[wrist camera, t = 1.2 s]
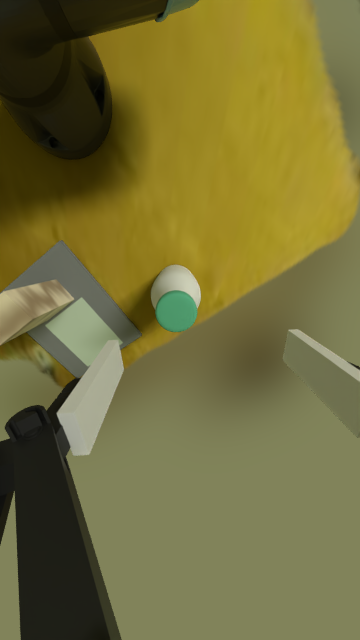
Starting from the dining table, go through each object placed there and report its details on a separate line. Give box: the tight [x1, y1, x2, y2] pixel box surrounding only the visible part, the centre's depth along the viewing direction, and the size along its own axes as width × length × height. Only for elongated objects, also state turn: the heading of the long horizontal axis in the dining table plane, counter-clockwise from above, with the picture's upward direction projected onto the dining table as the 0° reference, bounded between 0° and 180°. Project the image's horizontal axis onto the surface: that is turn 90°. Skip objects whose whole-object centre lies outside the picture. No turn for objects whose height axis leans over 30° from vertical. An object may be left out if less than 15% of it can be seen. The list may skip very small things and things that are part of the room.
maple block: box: [0, 279, 74, 346], centre depth 32 cm, size 5×8×12 cm, turn 125°
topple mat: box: [0, 241, 142, 378], centre depth 40 cm, size 24×20×1 cm
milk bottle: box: [151, 265, 201, 332], centre depth 29 cm, size 8×8×20 cm
